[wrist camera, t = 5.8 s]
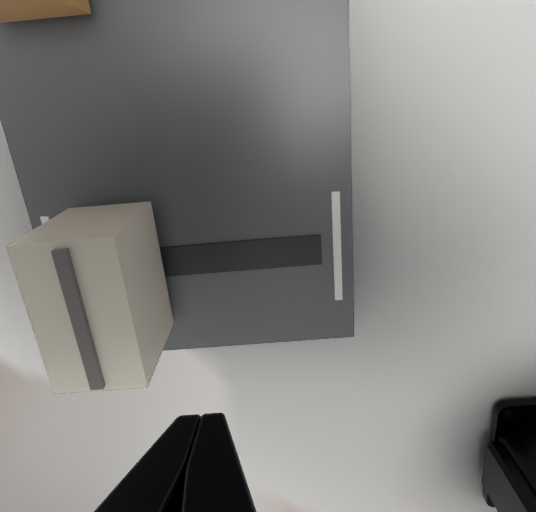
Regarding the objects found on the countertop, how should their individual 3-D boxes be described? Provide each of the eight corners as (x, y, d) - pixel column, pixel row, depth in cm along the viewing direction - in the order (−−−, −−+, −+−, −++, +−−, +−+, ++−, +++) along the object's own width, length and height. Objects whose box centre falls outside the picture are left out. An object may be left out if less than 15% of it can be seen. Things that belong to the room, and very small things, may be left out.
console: (337, -265, 12) (344, -303, 11) (348, 321, 19) (354, 337, 18) (-75, -216, 13) (-111, -248, 11) (82, 341, 19) (70, 358, 18)
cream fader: (150, 201, 15) (110, 239, 12) (173, 322, 17) (145, 391, 13) (68, 208, 16) (1, 248, 12) (100, 328, 17) (50, 398, 13)
